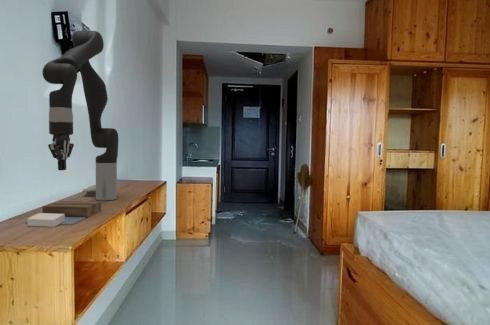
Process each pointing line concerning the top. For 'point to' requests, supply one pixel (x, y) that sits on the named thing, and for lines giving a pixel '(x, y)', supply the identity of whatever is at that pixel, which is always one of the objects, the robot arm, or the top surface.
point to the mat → (70, 220)
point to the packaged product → (90, 190)
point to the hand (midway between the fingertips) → (62, 170)
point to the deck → (73, 208)
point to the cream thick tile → (46, 219)
